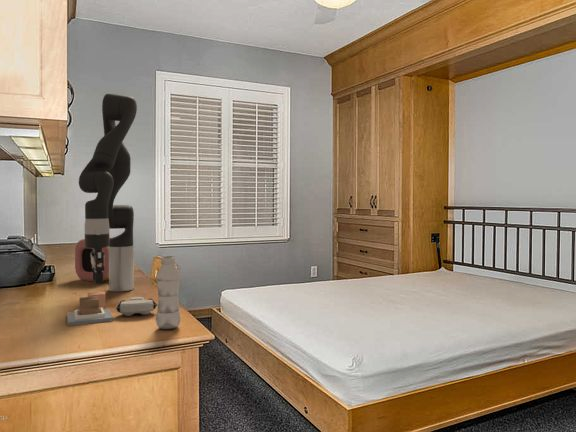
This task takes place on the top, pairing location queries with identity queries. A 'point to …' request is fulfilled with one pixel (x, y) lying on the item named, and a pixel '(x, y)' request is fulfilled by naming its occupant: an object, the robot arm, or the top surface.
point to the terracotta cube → (101, 298)
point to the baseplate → (89, 317)
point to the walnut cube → (89, 305)
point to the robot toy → (136, 306)
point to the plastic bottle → (168, 294)
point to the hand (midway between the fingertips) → (97, 282)
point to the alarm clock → (88, 262)
